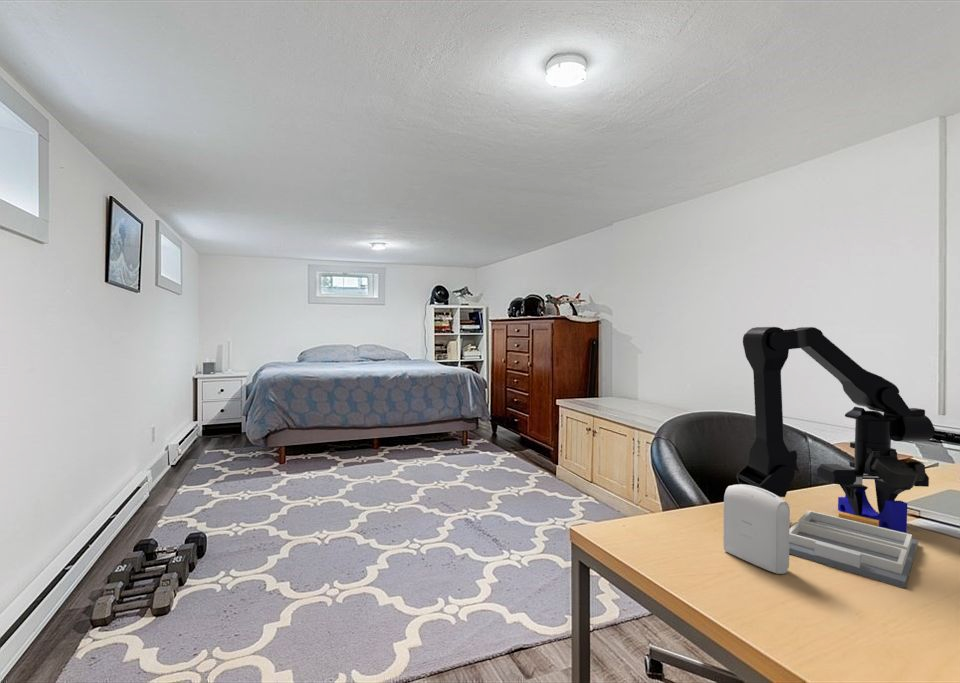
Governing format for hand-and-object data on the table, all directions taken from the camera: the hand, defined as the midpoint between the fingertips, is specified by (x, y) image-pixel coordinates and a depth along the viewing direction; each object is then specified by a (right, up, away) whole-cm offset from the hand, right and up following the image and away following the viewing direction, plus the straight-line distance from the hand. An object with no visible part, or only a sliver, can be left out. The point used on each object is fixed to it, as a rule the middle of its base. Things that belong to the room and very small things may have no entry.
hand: (870, 516), depth 98 cm
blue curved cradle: (0, -1, 0) cm, 1 cm away
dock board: (-14, -1, -13) cm, 19 cm away
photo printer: (-34, -1, -18) cm, 39 cm away
